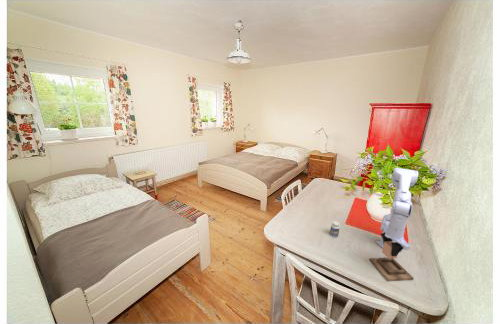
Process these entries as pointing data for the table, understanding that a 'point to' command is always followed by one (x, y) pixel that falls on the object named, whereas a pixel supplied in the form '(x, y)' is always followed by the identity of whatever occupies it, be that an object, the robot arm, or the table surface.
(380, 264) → the display stand
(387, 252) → the terracotta block
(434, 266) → the table surface
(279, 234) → the table surface
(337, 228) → the pill bottle
